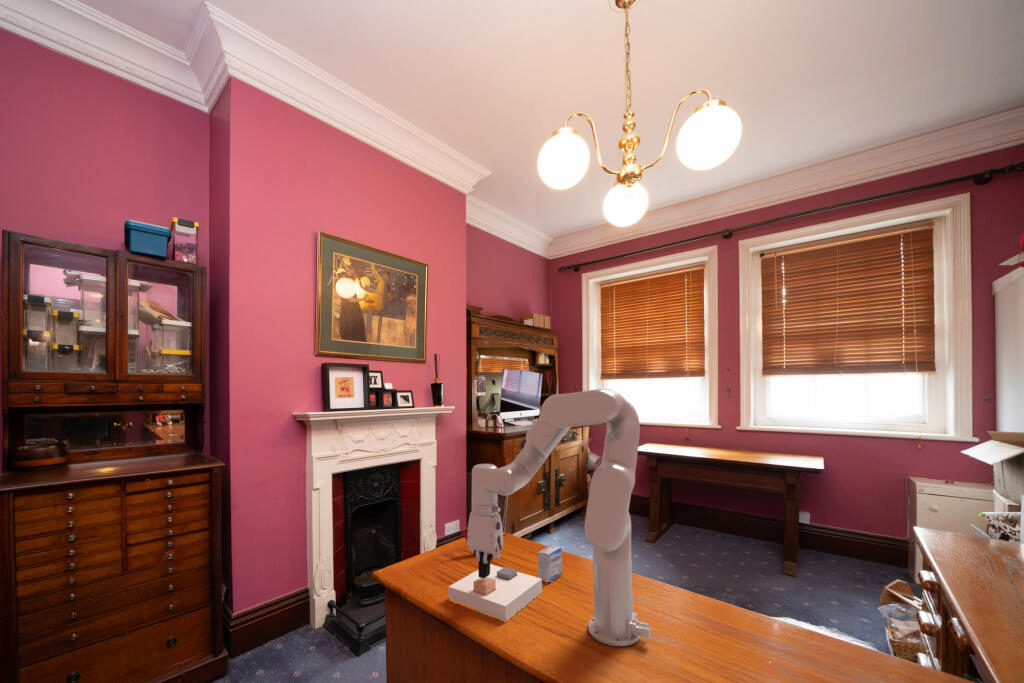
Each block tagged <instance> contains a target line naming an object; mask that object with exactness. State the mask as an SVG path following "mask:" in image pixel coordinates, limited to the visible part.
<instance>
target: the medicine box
mask: <svg viewBox="0 0 1024 683" xmlns="http://www.w3.org/2000/svg"><path fill="white" fill-rule="evenodd" d="M562 550H563V549H562V547H560V546H558V545H553V544H550V545H548V546H546V547H545V548H543V549H541V550H540V551H538V552H537V566H538V567H537V568H538V569H537V570H538V571H537V573H538V574H537V575H538V577H537V578H541V579H542V580H544V581H547V582H551V581H553V580H554V579H555V578H557V577H558V576H560V575H561V574H562V575H563V551H562ZM562 575H561V576H562ZM561 576H560V577H561ZM558 578H559V577H558ZM558 578H557V579H558ZM555 580H556V579H555ZM555 580H554V581H555ZM544 581H543V582H544ZM554 581H553V582H554ZM547 582H546V583H547ZM551 583H552V582H551Z"/></svg>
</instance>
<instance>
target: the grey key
mask: <svg viewBox="0 0 1024 683" xmlns="http://www.w3.org/2000/svg"><path fill="white" fill-rule="evenodd" d="M517 572H518V570H517V569H515V568H512V567H511V568H510V567H507V566H504V567H502V569H501V570H499V571H497V577H498V578H501V579H505V580H508V581H509V580H511V579H512V578H514V577H515V576H517Z"/></svg>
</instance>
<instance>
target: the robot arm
mask: <svg viewBox="0 0 1024 683" xmlns="http://www.w3.org/2000/svg"><path fill="white" fill-rule="evenodd" d="M540 411H541V414H540V416H539V417H537V419H536V420H535V422H534V423H533V424H532V426H531V427H530V428H529V429H528V430H527V432H526V434H525V438H526V441H525V444H524V446H523V448H521V450H520V452H519V453H518V455H517V456H516V457H515V458H514V460H512V462H511V463H509V464H507V465H505V466H502V467H499V468H498V466H496V465H495V464H492V463H478V464H476V465H474V466H473V467H472V469H471V512H470V513H469V518H468V524H467V527H468V534H467V541H466V543H467V542H468V543H467V546H468V551H470V552H471V553H472V554H473V553H474V554H473V555H474V556H475V557H476V558H475V559H476V562H477V563H478V568H477V570H478V571H479V577H480V578H481V577H482V578H483V579H484V578H485V577H487V576H489V575H490V564H491V561H493V559H499V558H500V557H502V554H501V550H503V549H504V536H503V534H504V531H503V522H502V519H501V514H500V512H501V507H499V504H498V503H499V502H498V501H499V500H498V499H499V498H498V497H499V496H498V495H500V496H504V497H505V496H510V495H512V494H514V493H515V492H517V491H519V490H520V489H521V488H524V487H525V486H526V485H527V484H528V483H529V482H530V481H531V480H532V478H533V477H534V476H535V474H537V472H538V471H539V469H540V468H541V467H542V465H544V463H545V462H546V460H547V459H548V458H549V456H550V455H551V452H552V451H553V450H554V449H555V448H556V447H557V445H558V444H559V443H560V442H561V440H562V439H563V437H565V436H566V434H567V433H568V432H569V430H570V429H571V428H572V427H573V428H574V427H582V426H583V427H584V426H590V425H601V424H606V432H605V438H604V445H603V446H604V447H603V452H602V458H601V461H600V462H601V463H600V464H599V466H598V467H597V468H596V469H595V470H594V472H593V475H592V477H591V480H590V486H589V494H588V499H587V505H586V512H585V521H584V532H585V537H586V539H587V540H588V542H589V543H590V545H591V546H592V575H593V579H592V580H593V581H592V582H593V607H594V608H593V611H594V616H593V617H592V618H591V619H590V620H589V622H588V632H589V634H590V635H591V636H592V638H594V639H595V640H596V641H599V642H600V643H602V644H604V645H607V646H612V647H627V646H632V645H633V644H635V643H637V642H638V641H639V640H640V639H641V637H644V638H647V639H651V635H652V629H651V628H650V627H649V626H650V625H649V623H647V622H643V621H640V620H639V619H638V613H637V612H634V605H633V604H634V601H633V600H634V599H633V598H634V597H633V596H634V594H633V574H632V572H633V571H632V568H633V567H632V519H631V514H630V512H629V511H630V510H629V509H630V503H631V498H632V497H631V496H632V492H633V489H634V487H635V484H636V483H635V482H636V468H637V462H638V461H637V460H638V453H639V452H638V451H639V443H640V434H641V433H640V432H641V431H640V430H641V428H640V427H641V426H640V420H639V416H638V413H637V411H636V409H635V406H634V405H633V404H632V402H630V400H628V398H627V397H626V396H624V395H623V394H622V393H620V392H618V391H616V390H614V389H612V388H611V389H610V388H598V389H591V390H584V391H583V390H582V391H576V392H569V393H561V394H560V393H558V394H556V393H555V394H552V395H550V396H548V397H547V398H546V399H545V400H544V402H543V403H542V406H541V410H540Z"/></svg>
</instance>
